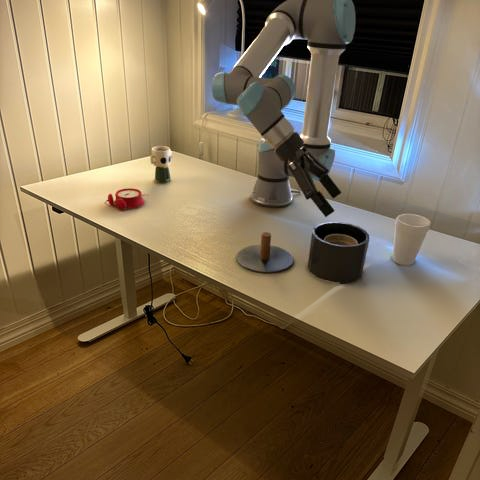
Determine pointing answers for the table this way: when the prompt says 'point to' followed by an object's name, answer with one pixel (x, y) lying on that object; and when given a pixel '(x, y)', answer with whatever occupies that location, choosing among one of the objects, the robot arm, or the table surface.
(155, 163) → the character mug
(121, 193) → the alarm clock
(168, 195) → the table surface
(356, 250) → the canister
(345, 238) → the flower pot
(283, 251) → the lid
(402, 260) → the foam cup
